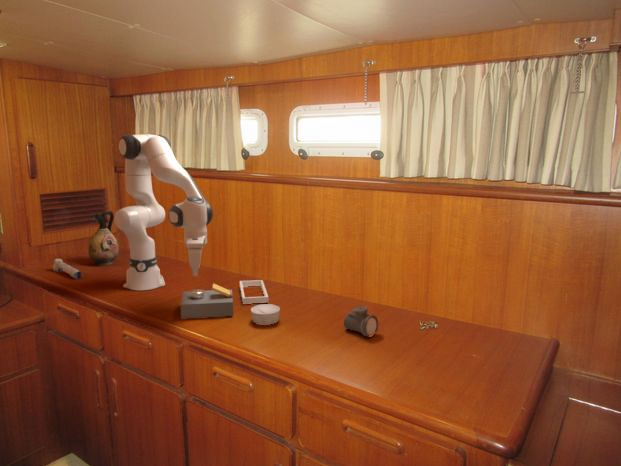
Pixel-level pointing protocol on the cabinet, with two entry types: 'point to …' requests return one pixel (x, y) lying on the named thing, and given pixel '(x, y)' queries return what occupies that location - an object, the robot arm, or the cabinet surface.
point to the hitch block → (206, 305)
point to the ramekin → (265, 314)
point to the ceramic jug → (103, 241)
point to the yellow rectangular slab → (222, 290)
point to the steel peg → (197, 294)
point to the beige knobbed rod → (66, 269)
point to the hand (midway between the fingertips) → (195, 272)
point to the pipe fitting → (361, 321)
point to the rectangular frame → (253, 299)
